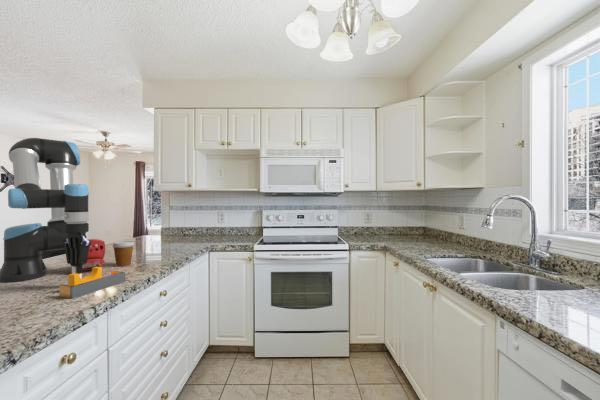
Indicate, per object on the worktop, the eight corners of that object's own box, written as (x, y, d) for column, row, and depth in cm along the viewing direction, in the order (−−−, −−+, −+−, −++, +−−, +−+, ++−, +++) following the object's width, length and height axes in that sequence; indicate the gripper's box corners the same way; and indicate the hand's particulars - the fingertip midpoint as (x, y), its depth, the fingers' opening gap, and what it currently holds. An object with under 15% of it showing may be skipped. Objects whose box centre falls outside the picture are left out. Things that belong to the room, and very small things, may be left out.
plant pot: (113, 262, 133) (110, 239, 137) (84, 262, 121) (82, 237, 125) (95, 271, 136) (93, 249, 140) (65, 272, 124) (64, 248, 128)
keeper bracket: (59, 296, 96) (59, 285, 96) (113, 280, 115) (113, 270, 115) (72, 298, 94) (72, 287, 94) (125, 281, 113) (125, 272, 113)
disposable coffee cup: (107, 267, 138) (107, 243, 137) (123, 262, 147) (122, 240, 147) (124, 267, 136) (124, 244, 136) (138, 263, 145) (138, 241, 145)
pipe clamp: (92, 281, 114) (92, 266, 114) (101, 282, 113) (101, 266, 113) (64, 291, 102) (64, 274, 102) (74, 292, 101) (74, 275, 101)
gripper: (54, 223, 106) (55, 283, 106) (77, 223, 102) (78, 286, 102) (75, 221, 113) (75, 277, 113) (98, 222, 109) (98, 280, 109)
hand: (77, 281), depth 108 cm, fingers closed
